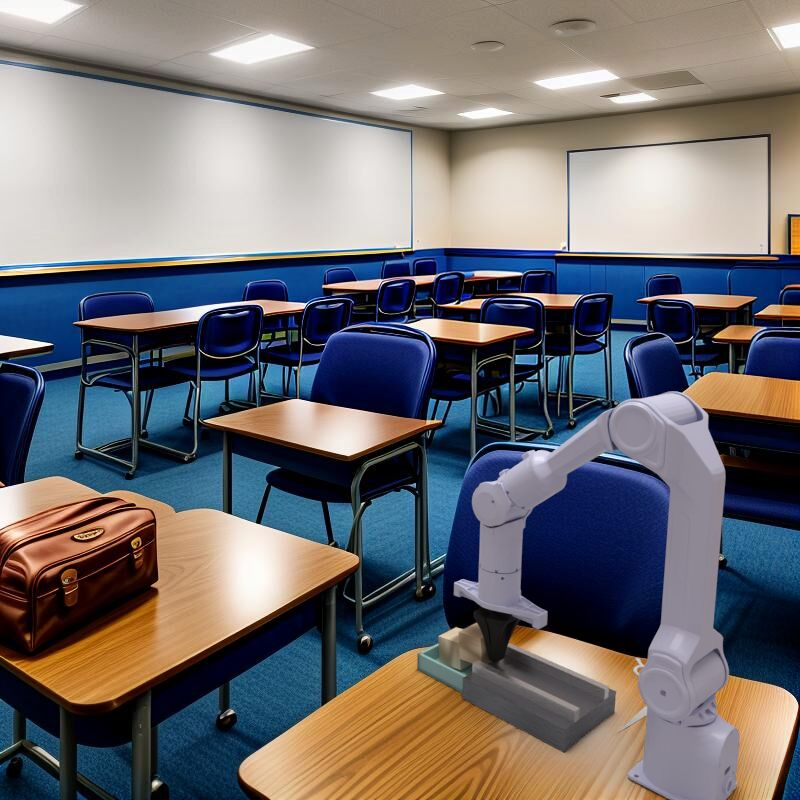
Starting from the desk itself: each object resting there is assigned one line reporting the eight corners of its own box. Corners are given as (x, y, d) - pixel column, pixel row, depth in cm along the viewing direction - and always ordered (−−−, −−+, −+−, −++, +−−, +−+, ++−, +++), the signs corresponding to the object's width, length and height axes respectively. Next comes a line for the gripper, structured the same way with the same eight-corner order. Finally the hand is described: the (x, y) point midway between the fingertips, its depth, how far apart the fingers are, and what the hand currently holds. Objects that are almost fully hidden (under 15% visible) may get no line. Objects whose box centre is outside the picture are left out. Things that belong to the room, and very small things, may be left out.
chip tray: (509, 668, 108) (510, 652, 108) (465, 694, 101) (465, 677, 101) (461, 646, 114) (462, 631, 114) (417, 669, 107) (417, 653, 107)
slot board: (614, 712, 97) (616, 680, 97) (564, 752, 89) (566, 718, 88) (515, 666, 108) (516, 637, 108) (462, 698, 100) (463, 667, 99)
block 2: (499, 656, 105) (498, 629, 105) (482, 666, 103) (480, 638, 102) (477, 649, 108) (476, 622, 108) (460, 658, 105) (458, 631, 105)
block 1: (477, 633, 108) (456, 627, 111) (459, 643, 105) (438, 636, 108) (478, 660, 108) (457, 653, 111) (460, 670, 106) (439, 662, 108)
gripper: (562, 573, 98) (557, 668, 101) (476, 544, 109) (474, 631, 111) (531, 588, 94) (526, 687, 96) (445, 556, 104) (442, 647, 106)
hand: (496, 658), depth 103 cm, fingers closed
